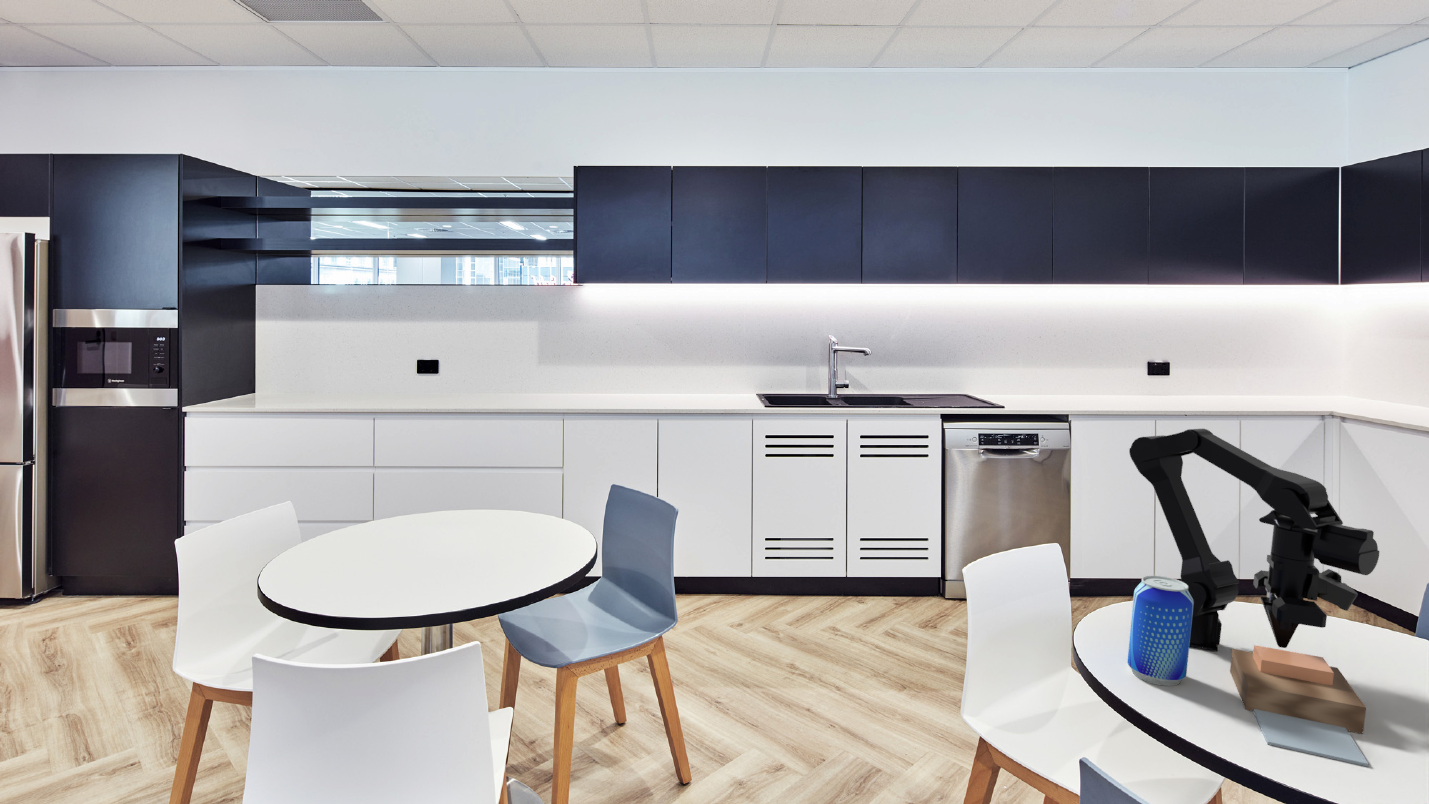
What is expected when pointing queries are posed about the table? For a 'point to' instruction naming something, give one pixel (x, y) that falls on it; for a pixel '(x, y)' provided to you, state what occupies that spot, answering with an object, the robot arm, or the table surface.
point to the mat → (1309, 737)
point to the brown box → (1297, 695)
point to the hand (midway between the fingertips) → (1281, 646)
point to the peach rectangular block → (1293, 665)
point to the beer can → (1160, 630)
